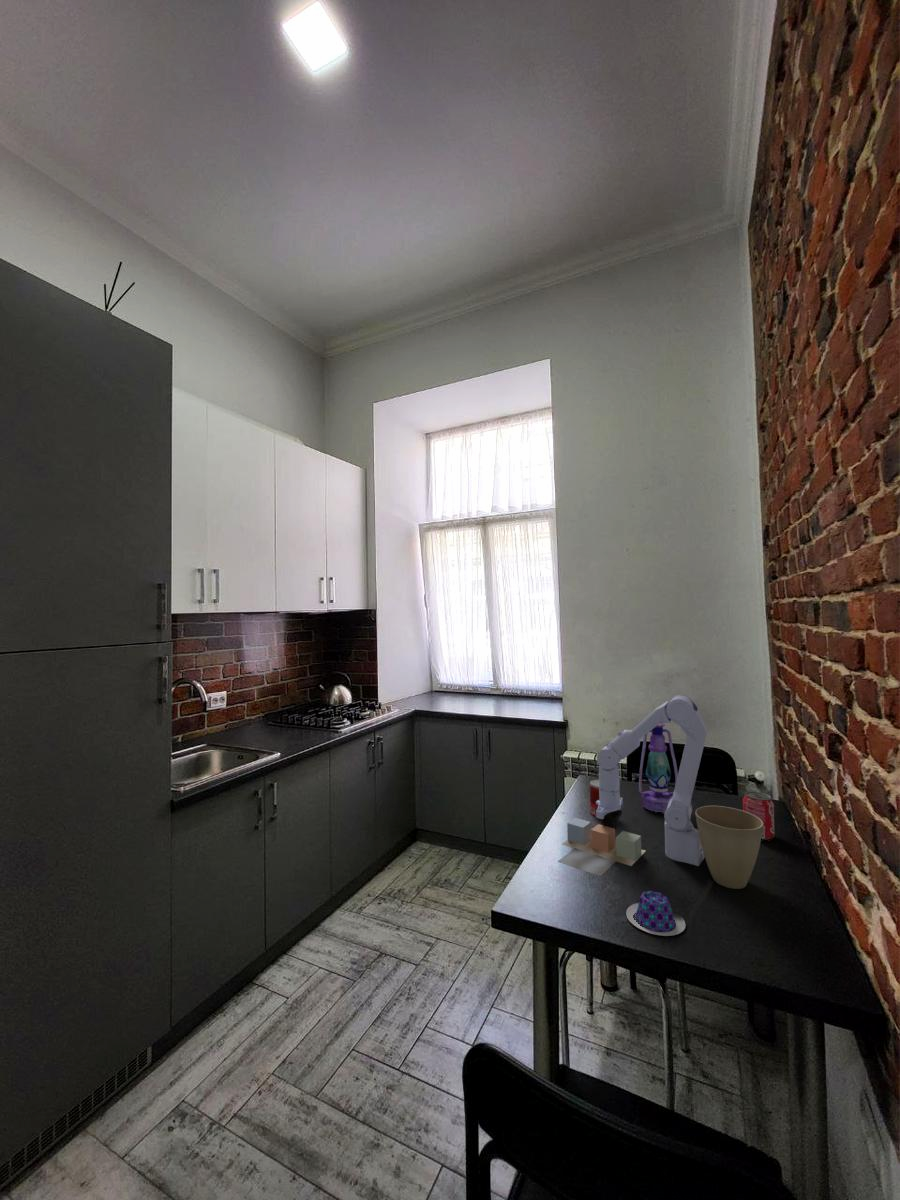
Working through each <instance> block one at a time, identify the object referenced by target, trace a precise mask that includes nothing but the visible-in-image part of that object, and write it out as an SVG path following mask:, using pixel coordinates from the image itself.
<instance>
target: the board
mask: <svg viewBox="0 0 900 1200" xmlns="http://www.w3.org/2000/svg"><path fill="white" fill-rule="evenodd" d="M562 845H565V846H568V847H571V848H573V849H571V850H570V851H569V852H568V853H567V854H565V855H564V856H562V857H561V858H560V859H559V860H557V863H560V864H563V865H566V866H569V867H572V868H575V869H577V870H581V871H583V872H586V873H589V874H591V875H596V876H598V877H602V876H603V875H604V874H605V873H606V872H607V871H609V869H610V868H611V867H612V866H614V864H615V863H616V862H617V863H619V864H623V865H627V866H629V867H632V866H633V865H634V864H635V863H636V862H637V861H638V860H639V859H640V858H641V857H642V856H643V855H644V854H645V852H647V851H646V850H645V849H642V848H641V855H640V856H639V857H638V858H637V859H636V861H632V860H629V859H626V858H622V857H619V856H616V841H615V847H614V848H613V849H612V850H611V851H610V852H609V853H606V852H603V851H600V850H597V849H594V848H591V840H590V841H588V842H587V843H586V844H585V845H581V844H578V843H574V842H571V841H568V839H567V840H565V841H564V842H562Z"/></svg>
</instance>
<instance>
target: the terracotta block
mask: <svg viewBox="0 0 900 1200" xmlns="http://www.w3.org/2000/svg"><path fill="white" fill-rule="evenodd" d="M615 842H616V833H615V829H614V828H611V827H607V826H603V824H599V823H598V824H596V825H595V826H594V827H592V828H591V848H594V849H597V850H600V851H603V852H606V853H609V852H610V851H611V850H612V849H613V848H614V847H615Z"/></svg>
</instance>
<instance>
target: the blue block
mask: <svg viewBox="0 0 900 1200" xmlns="http://www.w3.org/2000/svg"><path fill="white" fill-rule="evenodd" d="M566 824H567V825H566V826H567V830H566V832H567V840H568V841H571V842H574V843H578V844H581V845H585V844H586V843H587V842H588V841H590V840H591V829H592V821H588V820H585V819H581V818H578V817H574V818H572V819H571V820H569V821H568V822H567V823H566Z"/></svg>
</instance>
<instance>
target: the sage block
mask: <svg viewBox="0 0 900 1200" xmlns="http://www.w3.org/2000/svg"><path fill="white" fill-rule="evenodd" d="M615 842H616V856H619V857H622V858H626V859H629V860H632V861H636V859H637V858H638V857H639V856H640V855H641V849H642V835H639V834H636V833H632V832H628V831H626V830H625V831H624V830H622V831H621V832H620V833H619V834H617V836H615ZM641 856H642V855H641ZM636 862H637V861H636Z"/></svg>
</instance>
